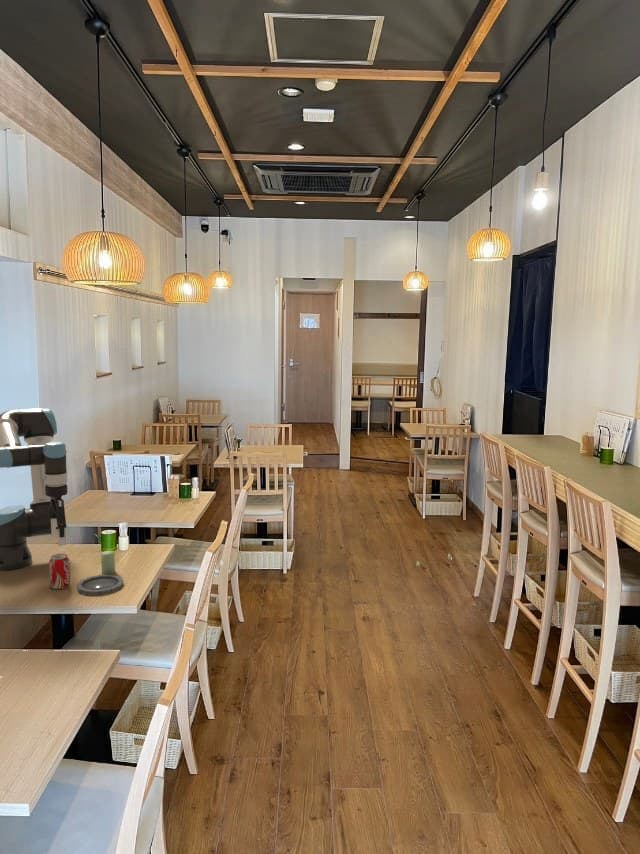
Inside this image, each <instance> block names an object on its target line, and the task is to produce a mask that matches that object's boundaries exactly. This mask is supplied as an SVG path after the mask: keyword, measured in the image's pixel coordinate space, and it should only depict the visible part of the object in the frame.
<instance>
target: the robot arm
mask: <svg viewBox="0 0 640 854" xmlns="http://www.w3.org/2000/svg"><path fill="white" fill-rule="evenodd" d="M57 434H58V427H57V421H56V417H55V414H54V412H53V411H52V410H51V409H50V408H41V407H39V408H26V409H25V408H24V409H23V408H20V409H19V408H18V409H16V408H15V409H10V410H6V411H4V412H1V413H0V468H1V469H2V468H7V469H9V468H17V467H18V468H19V467H20V468H21V467H28V466H29V468H30V476H31V477H30V478H31V488H32V498H33V499H32V501H31V502H30V504H29V508H26V507H25V505H21V504H19V505H11V506H6V507H4V508H1V509H0V571H11V570H12V571H13V570H16V569H17V570H18V569H22V568H24V567H27V566H29V565H30V564H32V562H33V555H32V553H31V551H30V548H29V546H28V544H27V539H28V538H32V537H39V536H45V535H51V536H52V537H53V536H56V537H57V538H56V539H57V546H58V547H62V546H63V547H64V546H66V545H67V539H66V538H67V536H66V535H67V534H66V529H67V525H68V524H67V519H66V510H65V501H64V499H63V498H62V497H64V496H66V495H68V489H69V488H68V484H67V483H68V472H67V471H68V470H67V447H66V443H65V442H62V441H53V440H54V439H55V437H54V436H55V435H57ZM21 437H23V441H24V442H25V443H26V444H27V445H22V443H21V440H20V438H21Z"/></svg>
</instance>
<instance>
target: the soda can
mask: <svg viewBox="0 0 640 854" xmlns="http://www.w3.org/2000/svg"><path fill="white" fill-rule="evenodd" d="M70 565H71V563H70V558H69V557H68V554H67V553H56V554H53V555H51V556H50V560H49V564H48V566H49V568H48V569H49V570H48V571H49V584H50V585H49V586H50V588H52V589H54V590H63V589H66V588H68V587H69V586H70V585H71V568H70V567H71V566H70Z"/></svg>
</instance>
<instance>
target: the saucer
mask: <svg viewBox="0 0 640 854" xmlns="http://www.w3.org/2000/svg"><path fill="white" fill-rule="evenodd" d="M123 586H124V579H123V578H122V577H121V576H119V575H114V574H97V575H92V576H88V577H85V578H83V579H80V581H79V582H78V583H77V585H76V590H77V592H78V593H80V594H82V595H85V596H101V595H102V596H103V595H108V594H111V592H112V593H115V592H116V591H118V590H120V589H122V587H123Z"/></svg>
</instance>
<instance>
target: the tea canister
mask: <svg viewBox="0 0 640 854" xmlns="http://www.w3.org/2000/svg"><path fill="white" fill-rule="evenodd" d="M100 554H101V555H100V556H101V557H100V558H101V561H100V563H101V575H113V574H114V573H115V572H116V567H115V566H116V562H115V555H116V554H115V551H113V550H106V551H102V552H101V553H100Z"/></svg>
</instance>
